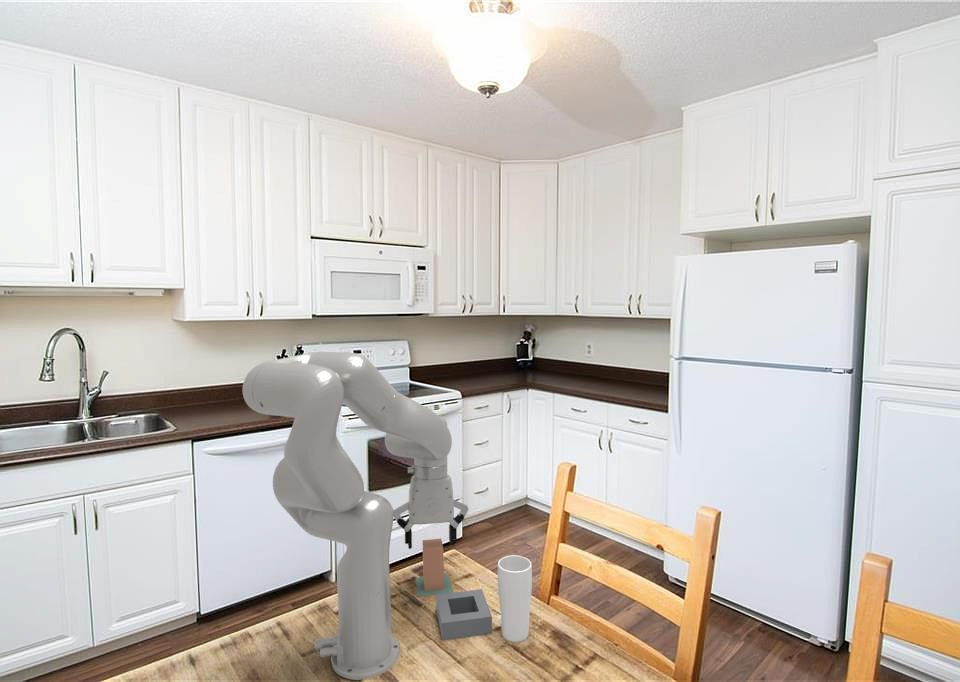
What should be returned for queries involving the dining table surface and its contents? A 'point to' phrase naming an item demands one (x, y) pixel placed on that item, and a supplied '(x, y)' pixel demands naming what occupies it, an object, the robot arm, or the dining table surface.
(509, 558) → the drinking glass
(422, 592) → the mat
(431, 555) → the peg
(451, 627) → the pocket block
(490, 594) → the dining table surface
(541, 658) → the dining table surface
